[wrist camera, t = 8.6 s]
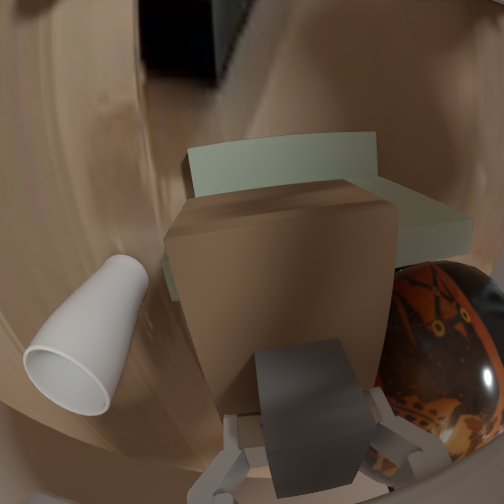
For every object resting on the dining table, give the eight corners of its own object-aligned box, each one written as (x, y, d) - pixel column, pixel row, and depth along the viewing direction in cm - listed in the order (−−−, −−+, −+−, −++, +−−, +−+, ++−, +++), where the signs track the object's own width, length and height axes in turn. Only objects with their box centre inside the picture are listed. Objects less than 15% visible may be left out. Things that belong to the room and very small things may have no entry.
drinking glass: (162, 256, 27) (110, 371, 13) (151, 311, 29) (112, 428, 16) (99, 237, 26) (12, 329, 12) (95, 293, 28) (31, 394, 14)
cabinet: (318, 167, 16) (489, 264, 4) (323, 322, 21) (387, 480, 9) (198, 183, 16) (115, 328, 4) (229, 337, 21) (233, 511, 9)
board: (368, 131, 23) (478, 145, 10) (371, 193, 26) (469, 252, 13) (189, 148, 23) (139, 169, 10) (201, 214, 26) (172, 301, 13)
